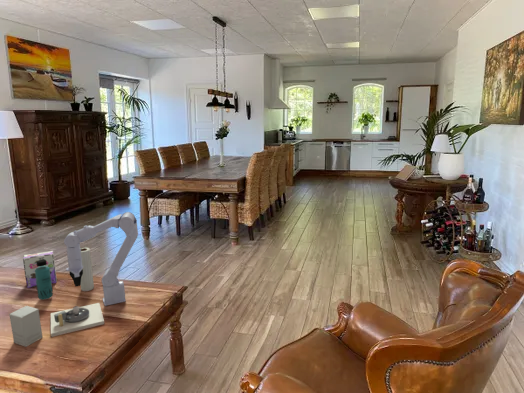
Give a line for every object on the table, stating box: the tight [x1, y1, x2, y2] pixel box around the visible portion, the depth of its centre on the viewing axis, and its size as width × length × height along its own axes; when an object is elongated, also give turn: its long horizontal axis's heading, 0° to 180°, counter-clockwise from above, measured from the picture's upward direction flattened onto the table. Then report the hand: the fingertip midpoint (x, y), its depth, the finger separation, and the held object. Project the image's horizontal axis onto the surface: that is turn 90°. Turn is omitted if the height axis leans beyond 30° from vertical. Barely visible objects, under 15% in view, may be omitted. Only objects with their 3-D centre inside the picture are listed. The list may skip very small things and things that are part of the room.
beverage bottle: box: [35, 260, 54, 300], centre depth 182 cm, size 6×7×20 cm
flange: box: [54, 308, 89, 323], centre depth 163 cm, size 14×10×4 cm
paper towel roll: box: [80, 246, 95, 292], centre depth 193 cm, size 7×6×21 cm
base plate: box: [50, 302, 105, 338], centre depth 165 cm, size 20×18×6 cm
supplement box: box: [9, 305, 43, 348], centre depth 150 cm, size 7×7×13 cm
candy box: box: [22, 250, 58, 289], centre depth 199 cm, size 14×6×16 cm, turn 117°
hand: (77, 285), depth 177 cm, fingers closed
